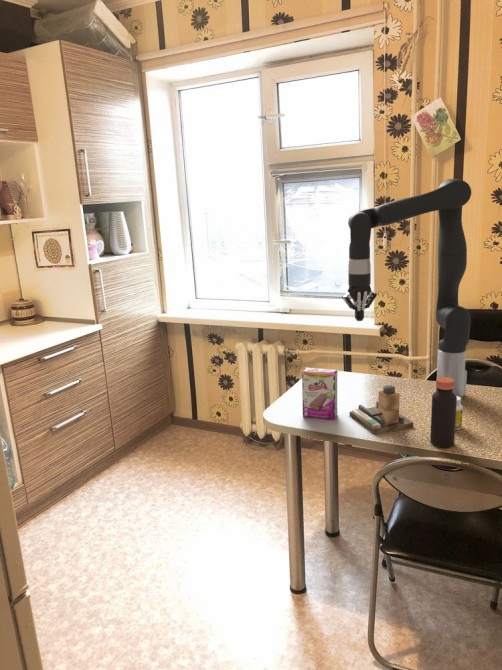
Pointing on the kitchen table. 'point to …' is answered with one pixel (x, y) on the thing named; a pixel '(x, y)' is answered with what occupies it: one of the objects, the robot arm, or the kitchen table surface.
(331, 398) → the candy bar box
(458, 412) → the supplement bottle
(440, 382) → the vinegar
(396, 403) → the block
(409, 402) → the kitchen table surface
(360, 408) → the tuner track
